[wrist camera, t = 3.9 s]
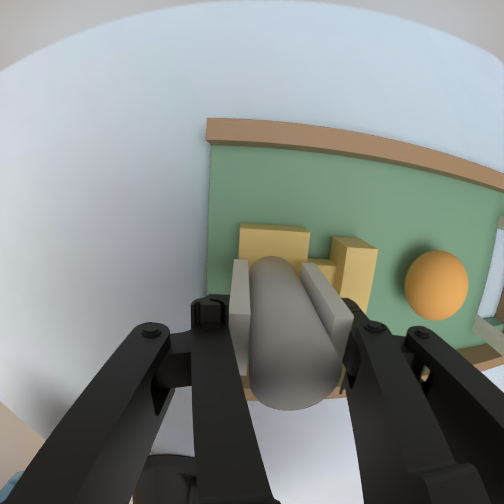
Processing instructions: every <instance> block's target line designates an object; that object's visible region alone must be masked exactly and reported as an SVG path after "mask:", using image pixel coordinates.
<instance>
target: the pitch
mask: <svg viewBox="0 0 504 504" xmlns="http://www.w3.org/2000/svg"><path fill="white" fill-rule="evenodd" d="M206 140H207V141H208V142H209V143H210V144H211V145H212V148H211V165H210V184H209V206H208V235H207V289H206V296H207V295H209V294H224V295H230V293H231V284H232V274H233V265H234V259H239V240H240V223H255V224H272V225H288V226H303V227H305V228H306V229H307V230H308V231H309V232H310V240H309V250H308V258H314V259H329V257H330V250H331V242H332V236H337V237H351V238H360V239H362V240H364V241H365V242H367V243H369V244H370V245H372V246H374V247H375V248H377V249H378V254H377V260H376V266H375V271H374V277H373V282H372V287H371V292H370V297H369V302H368V306H367V311H366V316H367V317H368V318H369V320H372V321H377V322H380V323H383V324H385V325H386V326H387V327H388V328H389V330H390V331H391V333H392V335H399V336H406V333H407V330H408V328H409V327H412V326H424V327H426V328H428V329H430V330H432V331H433V332H435V333H436V334H437V335H438V336H440V337H441V338H442V339H443V340H444V341H445V342H447V343H448V344H449V345H450V346H451V347H453V348H454V349H455V350H456V351H457V352H458V353H460V354H461V355H462V356H463V357H464V358H465V359H467V360H468V361H469V362H470V363H471V364H472V365H473V366H474V367H476V368H477V369H478V370H479V371H480V372H481V371H484V370H488V369H491V368H494V367H497V366H500V365H503V364H504V289H503V292H502V296H501V299H500V302H499V306H498V309H497V312H496V315H495V317H491V318H484V319H483V318H481V317H480V316H478V315H477V312H478V308H479V305H480V302H481V299H482V295H483V291H484V288H485V284H486V280H487V276H488V272H489V268H490V263H491V259H492V254H493V249H494V244H495V238H496V232H497V228H498V229H501V230H504V174H503V173H500V172H498V171H495V170H493V169H490V168H487V167H485V166H482V165H479V164H476V163H473V162H471V161H468V160H465V159H462V158H458V157H455V156H452V155H449V154H446V153H442V152H439V151H435V150H432V149H428V148H425V147H421V146H417V145H413V144H409V143H405V142H401V141H397V140H392V139H388V138H383V137H379V136H374V135H369V134H363V133H358V132H353V131H347V130H341V129H335V128H328V127H321V126H314V125H306V124H297V123H288V122H277V121H266V120H251V119H231V118H207V128H206ZM435 250H441V251H446V252H449V253H451V254H453V255H454V256H456V257H457V258H458V259H459V260H460V261H461V263H462V264H463V266H464V268H465V270H466V272H467V276H468V293H467V296H466V299H465V301H464V303H463V305H462V306H461V308H460V309H459V310H458V311H457V312H456V313H455V314H454V315H452V316H451V317H449V318H446V319H443V320H439V321H432V320H427V319H424V318H422V317H420V316H419V315H418V314H416V313H415V312H414V311H413V310H412V308H411V307H410V305H409V303H408V301H407V299H406V295H405V279H406V275H407V272H408V270H409V268H410V266H411V265H412V263H413V262H414V261H415V260H416V259H417V258H418V257H419V256H421V255H422V254H424V253H427V252H429V251H435ZM345 371H346V368H345V366H344V364H342V374H341V378H340V381H339V383H338V385H337V387H336V388H335V389H334V391H333V392H332V393H331V394H330V395H329V396H328V397H326V398H325V399H333V398H345V397H347V396H346V391H345V389H344V390H343V392H342V394H339V391H340V388H341V385H342V381H343V378H344V374H345ZM429 373H430V370H429V369H428V368H427V367H426V368H425V370H424V373H423V375H422V377H421V378H422V379H423V380H424V381H426V379H427V377H428V375H429ZM240 377H241V381H242V385H243V389H244V393H245V397H246V401H259V400H258V399H257V398H256V397H255V396H254V395H253V393H252V391H251V389H250V384H249V361H248V360H247V375H246V376H241V375H240Z"/></svg>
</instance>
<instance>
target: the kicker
mask: <svg viewBox="0 0 504 504" xmlns="http://www.w3.org/2000/svg"><path fill="white" fill-rule="evenodd" d="M309 240H310V232H309V231H308V230H307V229H306V228H305V227H303V226H288V225H272V224H255V223H240V240H239V259H244V260H248V272H249V292H250V311H251V317H250V331H249V346H248V361H249V384H250V389H251V391H252V393H253V395H254V396H255V397H256V398H257V399H258V400H259V401H260V402H261V403H263V404H264V405H266V406H268V407H271V408H274V409H278V410H299V409H304V408H307V407H310V406H313V405H315V404H317V403H319V402H321V401H322V400H324V399H325V398H326V397H328V396H329V395H330V394H331V393H332V392H333V391H334V389H335V388H336V387H337V385H338V383H339V381H340V378H341V374H342V363H341V360H340V358H339V356H338V354H337V352H336V350H335V348H334V346H333V344H332V342H331V340H330V338H329V336H328V334H327V332H326V330H325V328H324V326H323V324H322V322H321V320H320V318H319V316H318V314H317V312H316V310H315V308H314V306H313V304H312V302H311V300H310V298H309V296H308V294H307V293H306V291H305V289H304V287H303V285H302V283H301V281H300V272H301V263H302V262H304V263H315V264H316V265H317V267H318V268H319V269H320V271H321V272H322V273H323V275H324V276H325V277H326V279H327V280H328V281H329V283H330V284H331V285H332V287H333V288H334V289H335V291H336V292H337V293H338V295H339V296H340V297H341V298H349V299H351V300H353V301H354V302H356V303H357V305H358V306H359V308H361V310H362V311H363V312H364V313H365V315H366V311H367V306H368V302H369V297H370V292H371V287H372V282H373V277H374V271H375V266H376V260H377V254H378V249H377V248H375V247H374V246H372V245H370V244H369V243H367V242H365V241H364V240H362V239H360V238H351V237H337V236H332V242H331V250H330V257H329V259H314V258H308V250H309Z"/></svg>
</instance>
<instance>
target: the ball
mask: <svg viewBox="0 0 504 504" xmlns="http://www.w3.org/2000/svg"><path fill="white" fill-rule="evenodd" d="M467 293H468V276H467V272H466V270H465V268H464V266H463V264H462V263H461V261H460V260H459V259H458V258H457V257H456V256H454V255H453V254H451V253H449V252H446V251H441V250H435V251H429V252H427V253H424V254H422V255H421V256H419V257H418V258H417V259H416V260H415V261H414V262H413V263H412V265H411V266H410V268H409V270H408V272H407V275H406V279H405V295H406V299H407V301H408V303H409V305H410V307H411V308H412V310H413V311H414V312H415V313H416V314H418V315H419V316H420V317H422V318H424V319H427V320H432V321H439V320H443V319H446V318H449V317H451V316H452V315H454V314H455V313H456V312H457V311H458V310H459V309H460V308H461V306H462V305H463V303H464V301H465V299H466V296H467Z"/></svg>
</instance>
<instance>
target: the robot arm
mask: <svg viewBox="0 0 504 504" xmlns="http://www.w3.org/2000/svg"><path fill="white" fill-rule="evenodd" d="M300 281H301V283H302V285H303V287H304V289H305V291H306V293H307V294H308V296H309V298H310V300H311V302H312V304H313V306H314V308H315V310H316V312H317V314H318V316H319V318H320V320H321V322H322V324H323V326H324V328H325V330H326V332H327V334H328V336H329V338H330V340H331V342H332V344H333V346H334V348H335V350H336V352H337V354H338V356H339V358H340V360H341V363H342V364H344V366H345V368H346V371H345V374H344V378H343V381H342V385H341V388H340V391H339V394H342V392H343V390H344V389H345V391H346V396H347V401H348V406H349V411H350V416H351V422H352V427H353V433H354V439H355V445H356V451H357V457H358V463H359V470H360V477H361V484H362V492H363V499H364V504H504V393H503V392H502V391H501V390H500V389H499V388H498V387H497V386H496V385H495V384H493V383H492V382H491V381H490V380H489V379H488V378H487V377H486V376H485V375H484V374H482V373H481V372H480V371H479V370H478V369H477V368H476V367H474V366H473V365H472V364H471V363H470V362H469V361H468V360H467V359H465V358H464V357H463V356H462V355H461V354H460V353H458V352H457V351H456V350H455V349H454V348H453V347H451V346H450V345H449V344H448V343H447V342H445V341H444V340H443V339H442V338H441V337H440V336H438V335H437V334H436V333H435V332H433V331H432V330H430V329H428V328H426V327H424V326H412V327H409V328H408V330H407V333H406V336H399V335H392V333H391V331H390V330H389V328H388V327H387V326H386V325H385V324H383V323H380V322H377V321H372V320H369V318H368V317H367V316H366V315H365V313H364V312H363V311H362V310H361V308H359V306H358V305H357V303H356V302H354V301H353V300H351V299H349V298H341V297H340V296H339V295H338V293H337V292H336V291H335V289H334V288H333V287H332V285H331V284H330V283H329V281H328V280H327V279H326V277H325V276H324V275H323V273H322V272H321V271H320V269H319V268H318V267H317V265H316V264H315V263H304V262H302V263H301V272H300ZM250 317H251V311H250V292H249V272H248V260H244V259H234V265H233V274H232V284H231V293H230V295H224V294H209V295H207V296H206V297H204V298H199V299H196V300H194V301H193V302H192V303H191V330H189V331H186V332H182V333H174V334H170V330H169V328H168V327H167V326H165V325H164V324H160V323H153V322H147V323H143V324H140V325H138V326H136V327H135V328H134V329H133V330H132V331H131V333H130V334H129V335H128V336H127V337H126V339H125V340H124V341H123V342H122V343H121V345H120V346H119V347H118V348H117V350H116V351H115V352H114V353H113V354H112V356H111V357H110V358H109V359H108V361H107V362H106V363H105V364H104V366H103V367H102V368H101V369H100V371H99V372H98V373H97V374H96V376H95V377H94V378H93V379H92V381H91V382H90V383H89V385H88V386H87V387H86V388H85V390H84V391H83V392H82V394H81V395H80V396H79V397H78V399H77V400H76V401H75V403H74V404H73V405H72V407H71V408H70V409H69V410H68V412H67V413H66V414H65V416H64V417H63V418H62V420H61V421H60V422H59V424H58V425H57V426H56V428H55V429H54V431H53V432H52V433H51V435H50V436H49V437H48V439H47V440H46V441H45V443H44V444H43V446H42V447H41V449H40V450H39V451H38V453H37V454H36V456H35V457H34V458H33V460H32V461H31V463H30V464H29V465H28V467H27V468H26V470H25V471H20V472H17V473H16V474H15V475H14V476H13V477H12V478H11V479H10V480H9V481H8V482H7V483H6V484H5V486H4V487H3V488H2V489H1V490H0V504H129V501H130V499H131V497H132V496H133V504H281V503H280V501H278V500H276V499H274V497H273V495H272V492H271V489H270V486H269V482H268V479H267V475H266V472H265V468H264V465H263V461H262V458H261V454H260V450H259V447H258V443H257V439H256V436H255V432H254V428H253V424H252V420H251V417H250V413H249V409H248V405H247V401H246V397H245V393H244V389H243V385H242V381H241V377H240V375H241V376H246V375H247V360H248V346H249V331H250ZM426 367H427V368H428V369H429V370H430V373H429V375H428V377H427V379H426V381H424V380H423V379H422V378H421V377H422V375H423V373H424V370H425V368H426ZM185 386H192V412H193V434H194V451H195V458H189V457H182V456H172V455H158V456H150V457H148V455H149V452H150V450H151V447H152V445H153V442H154V440H155V438H156V435H157V433H158V430H159V428H160V426H161V423H162V421H163V418H164V416H165V414H166V411H167V409H168V406H169V404H170V402H171V399H172V397H173V395H174V392H175V388H177V387H185Z"/></svg>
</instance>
